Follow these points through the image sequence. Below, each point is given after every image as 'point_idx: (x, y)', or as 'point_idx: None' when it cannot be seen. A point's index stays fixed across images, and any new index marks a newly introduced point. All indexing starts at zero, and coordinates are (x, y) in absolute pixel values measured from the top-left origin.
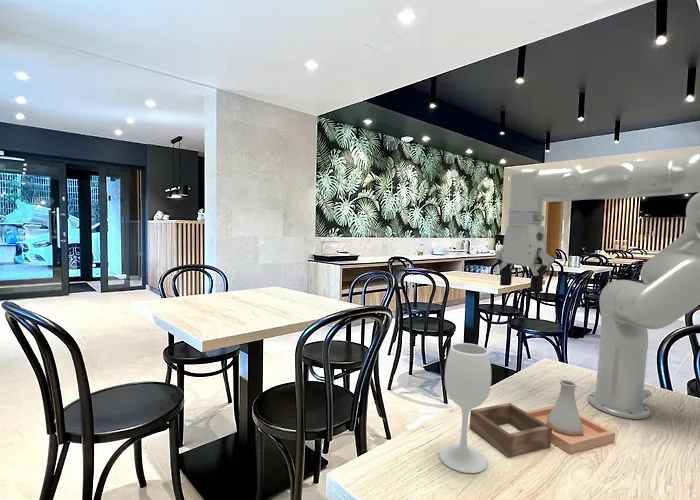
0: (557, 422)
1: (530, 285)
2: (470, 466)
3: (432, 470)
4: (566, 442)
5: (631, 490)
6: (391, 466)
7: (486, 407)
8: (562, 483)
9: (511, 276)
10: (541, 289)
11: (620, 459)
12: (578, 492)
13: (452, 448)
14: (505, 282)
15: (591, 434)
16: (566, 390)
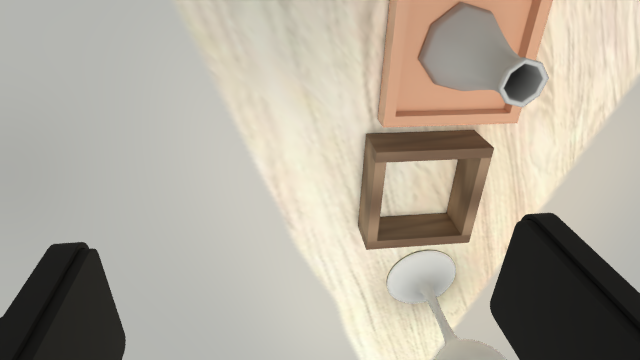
0: (469, 90)
1: (518, 355)
2: (447, 284)
3: (420, 317)
4: (508, 122)
5: (608, 104)
6: (390, 350)
7: (370, 215)
8: (533, 188)
9: (42, 340)
10: (560, 230)
11: (574, 28)
12: (555, 183)
13: (409, 291)
14: (105, 337)
15: (511, 10)
16: (517, 93)
